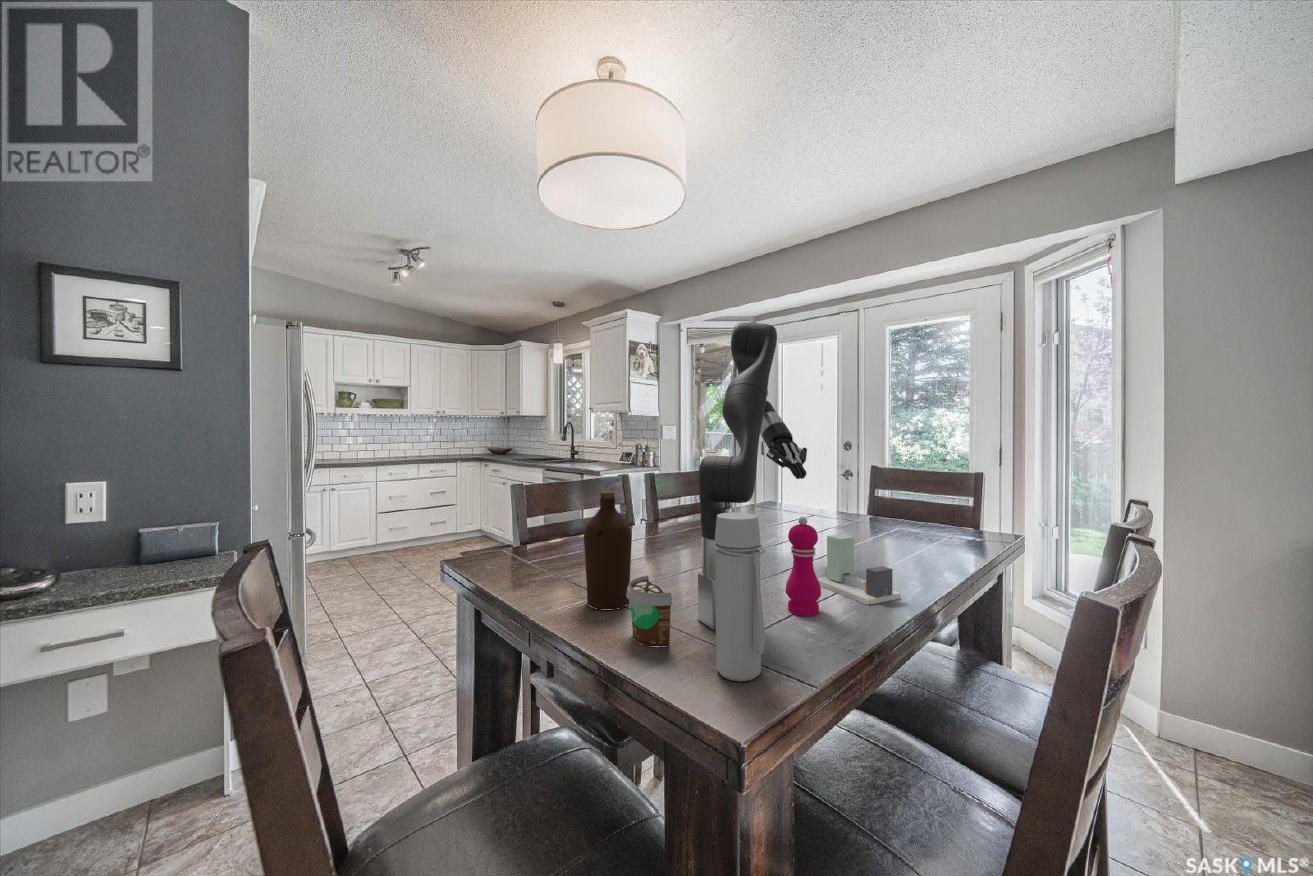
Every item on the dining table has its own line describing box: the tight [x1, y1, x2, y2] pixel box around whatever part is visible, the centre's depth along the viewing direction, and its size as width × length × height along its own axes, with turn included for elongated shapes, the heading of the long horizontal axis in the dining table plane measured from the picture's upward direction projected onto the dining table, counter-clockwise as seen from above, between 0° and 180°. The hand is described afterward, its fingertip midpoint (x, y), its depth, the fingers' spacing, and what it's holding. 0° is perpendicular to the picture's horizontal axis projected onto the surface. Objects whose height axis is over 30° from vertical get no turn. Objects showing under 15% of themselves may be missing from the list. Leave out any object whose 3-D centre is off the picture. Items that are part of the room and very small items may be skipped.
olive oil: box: [583, 490, 633, 610], centre depth 111 cm, size 11×11×25 cm
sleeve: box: [826, 533, 855, 582], centre depth 123 cm, size 5×4×10 cm
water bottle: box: [714, 511, 767, 682], centre depth 78 cm, size 9×8×25 cm
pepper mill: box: [785, 516, 822, 617], centre depth 105 cm, size 7×7×20 cm
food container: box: [626, 575, 673, 648], centre depth 92 cm, size 12×6×10 cm, turn 22°
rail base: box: [817, 565, 902, 606], centre depth 119 cm, size 10×17×7 cm, turn 23°
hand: (802, 476), depth 132 cm, fingers closed
